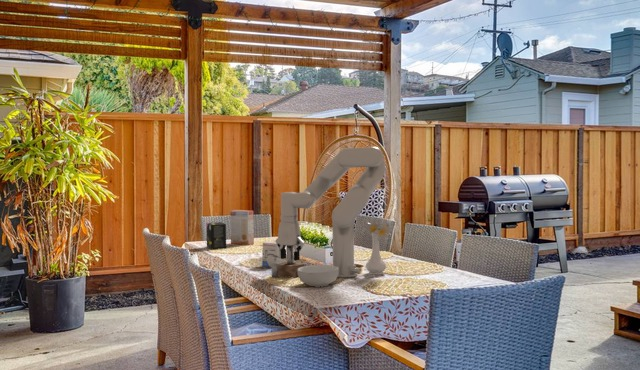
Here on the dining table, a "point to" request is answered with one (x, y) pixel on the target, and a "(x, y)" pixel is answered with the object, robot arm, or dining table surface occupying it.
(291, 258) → the long steel pin
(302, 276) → the cereal bowl
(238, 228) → the cracker box
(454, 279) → the dining table surface
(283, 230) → the robot arm
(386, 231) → the flower vase
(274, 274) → the short steel pin
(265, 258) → the ink box
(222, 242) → the tampon box
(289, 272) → the walnut hole block
